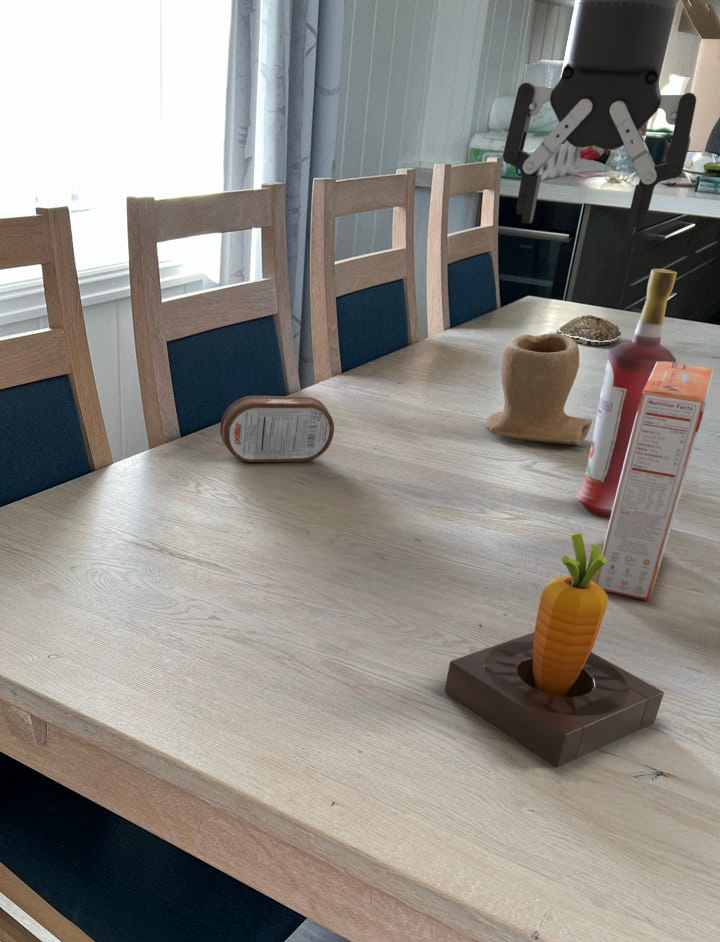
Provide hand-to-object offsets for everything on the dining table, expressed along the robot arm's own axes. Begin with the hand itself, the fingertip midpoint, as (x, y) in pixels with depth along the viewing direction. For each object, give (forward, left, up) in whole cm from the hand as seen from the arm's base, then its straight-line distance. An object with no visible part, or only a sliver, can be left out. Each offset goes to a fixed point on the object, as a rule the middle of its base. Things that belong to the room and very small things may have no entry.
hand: (577, 227), depth 83 cm
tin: (-1, -41, -34) cm, 53 cm away
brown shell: (-109, -76, -34) cm, 137 cm away
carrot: (+14, +18, -34) cm, 41 cm away
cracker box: (-15, +4, -34) cm, 38 cm away
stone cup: (-42, -32, -34) cm, 63 cm away
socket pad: (+14, +18, -34) cm, 41 cm away
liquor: (-28, -9, -34) cm, 45 cm away
